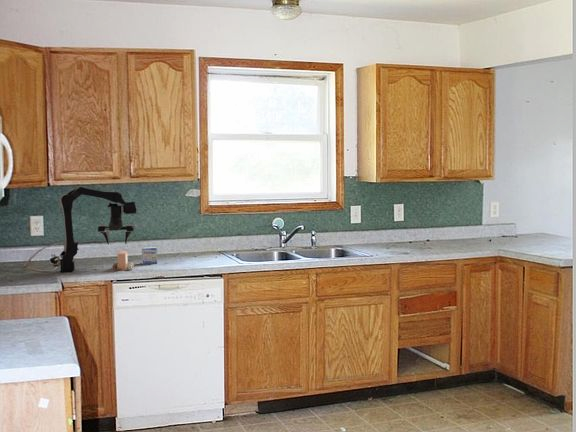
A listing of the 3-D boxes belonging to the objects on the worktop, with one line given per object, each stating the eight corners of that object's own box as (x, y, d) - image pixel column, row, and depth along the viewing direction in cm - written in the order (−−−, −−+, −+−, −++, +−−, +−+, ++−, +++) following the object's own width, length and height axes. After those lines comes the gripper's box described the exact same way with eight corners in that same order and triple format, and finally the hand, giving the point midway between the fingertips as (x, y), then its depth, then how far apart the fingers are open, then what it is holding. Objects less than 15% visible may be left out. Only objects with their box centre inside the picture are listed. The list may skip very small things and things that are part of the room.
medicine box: (142, 264, 372) (142, 248, 371) (142, 263, 376) (141, 247, 375) (157, 263, 374) (157, 247, 373) (156, 262, 378) (156, 246, 377)
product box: (120, 266, 363) (119, 251, 362) (128, 266, 363) (127, 251, 362) (118, 268, 356) (117, 253, 355) (125, 268, 356) (125, 253, 356)
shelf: (111, 271, 354) (111, 266, 354) (115, 267, 365) (115, 262, 365) (131, 270, 355) (130, 265, 354) (134, 266, 366) (134, 261, 365)
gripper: (94, 217, 356) (95, 246, 357) (131, 216, 356) (132, 246, 358) (99, 214, 367) (100, 243, 368) (134, 214, 367) (135, 243, 369)
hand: (117, 244), depth 366 cm, fingers open, 9 cm apart
